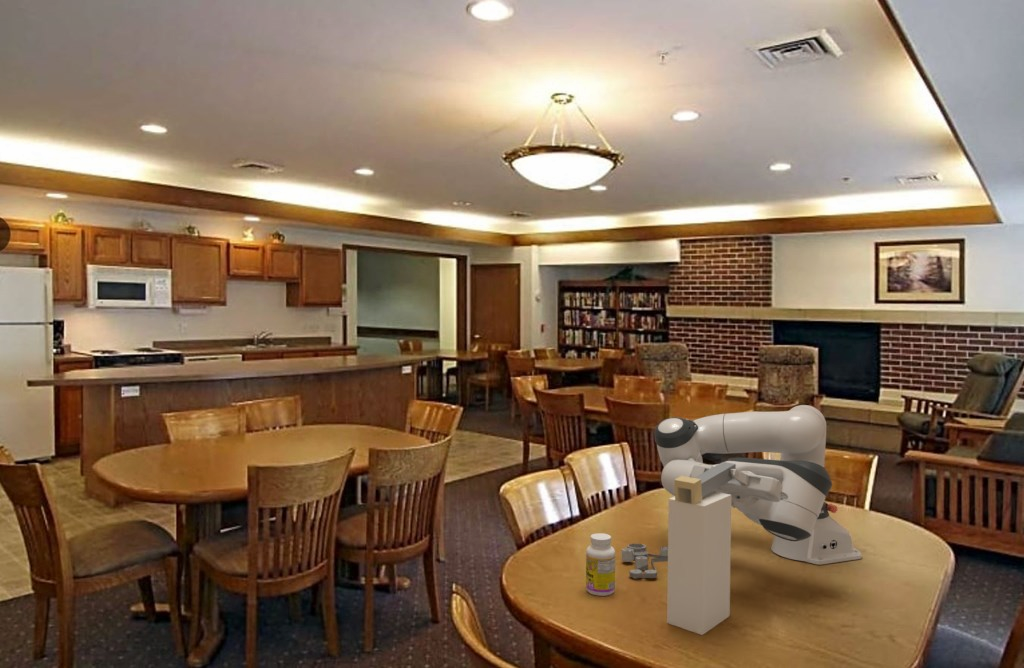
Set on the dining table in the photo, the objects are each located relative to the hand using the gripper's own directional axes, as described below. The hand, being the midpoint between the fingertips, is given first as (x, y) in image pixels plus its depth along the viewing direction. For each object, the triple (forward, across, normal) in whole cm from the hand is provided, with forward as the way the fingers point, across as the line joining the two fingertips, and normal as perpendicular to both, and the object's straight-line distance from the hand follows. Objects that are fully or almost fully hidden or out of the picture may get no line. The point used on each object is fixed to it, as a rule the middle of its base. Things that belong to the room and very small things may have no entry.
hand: (722, 470), depth 155 cm
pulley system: (-26, +25, -20) cm, 41 cm away
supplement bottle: (-4, +24, -32) cm, 40 cm away
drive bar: (+4, 0, -6) cm, 7 cm away
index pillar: (-6, 0, -31) cm, 31 cm away
